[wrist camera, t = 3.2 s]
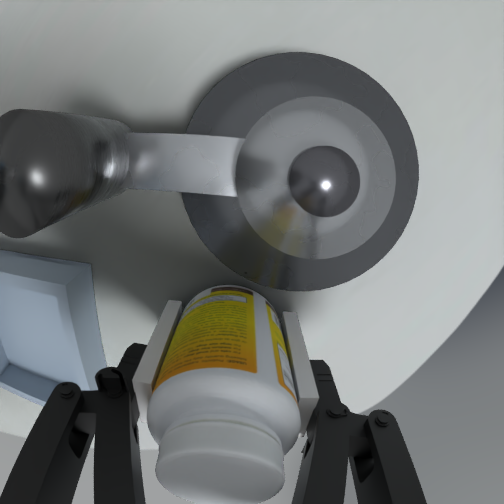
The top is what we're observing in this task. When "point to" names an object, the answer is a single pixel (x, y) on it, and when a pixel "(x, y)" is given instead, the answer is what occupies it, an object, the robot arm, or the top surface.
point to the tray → (47, 325)
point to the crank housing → (238, 126)
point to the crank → (209, 171)
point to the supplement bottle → (224, 401)
